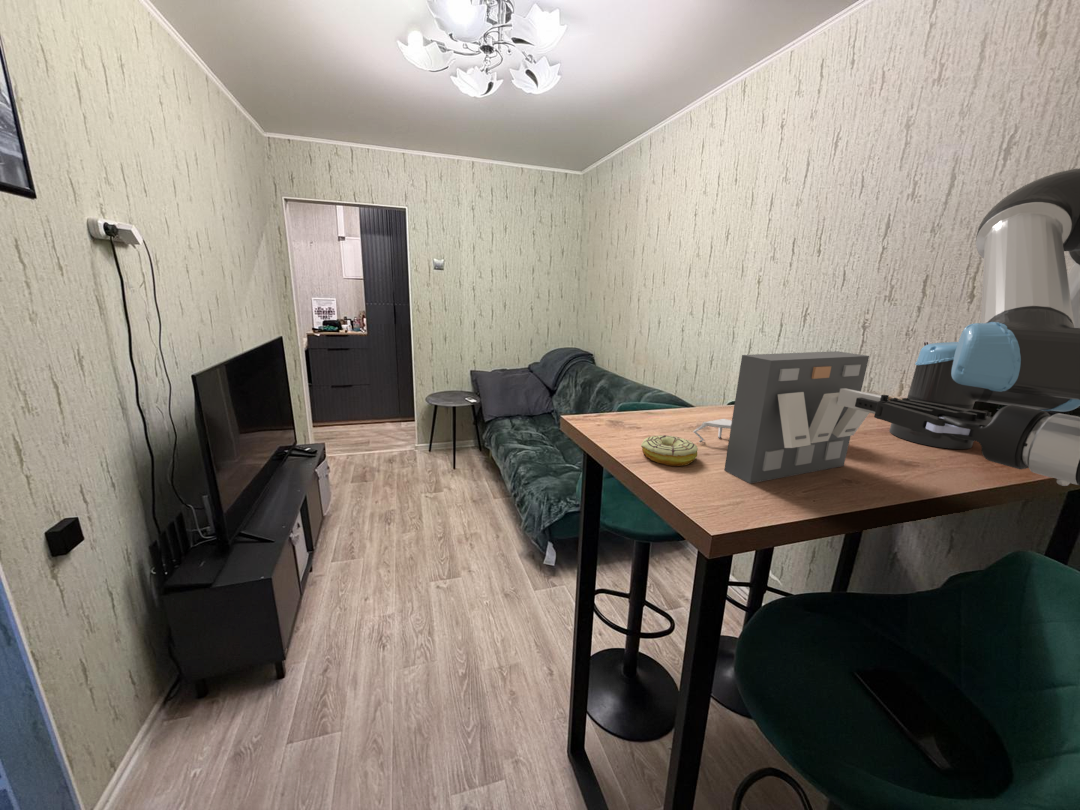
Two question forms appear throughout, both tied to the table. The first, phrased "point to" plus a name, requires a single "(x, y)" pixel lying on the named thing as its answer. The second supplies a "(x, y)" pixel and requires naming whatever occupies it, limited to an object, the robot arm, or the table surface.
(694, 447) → the decorated donut
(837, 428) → the bar
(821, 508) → the table surface
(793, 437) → the rocker
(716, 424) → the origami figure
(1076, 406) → the robot arm
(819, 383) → the power box
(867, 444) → the table surface
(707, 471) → the table surface
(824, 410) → the middle rocker
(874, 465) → the table surface
